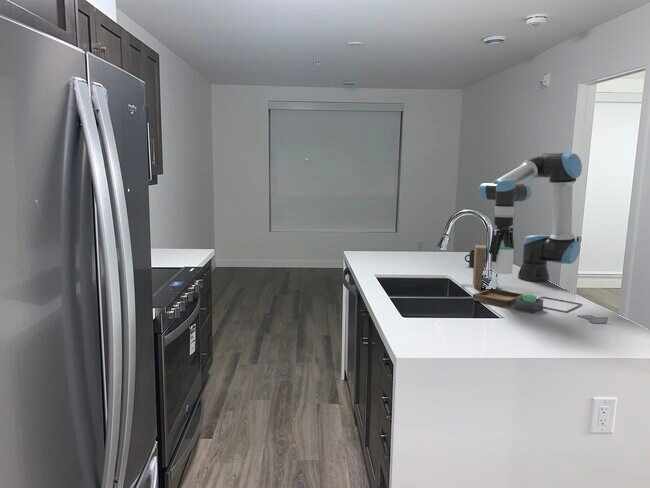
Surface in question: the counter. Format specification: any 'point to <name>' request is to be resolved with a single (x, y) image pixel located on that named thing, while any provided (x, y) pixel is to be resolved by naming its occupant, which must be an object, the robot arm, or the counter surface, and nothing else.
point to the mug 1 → (470, 258)
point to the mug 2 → (505, 261)
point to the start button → (529, 298)
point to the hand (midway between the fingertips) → (500, 267)
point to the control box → (529, 305)
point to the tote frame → (563, 301)
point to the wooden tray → (497, 297)
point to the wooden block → (479, 265)
